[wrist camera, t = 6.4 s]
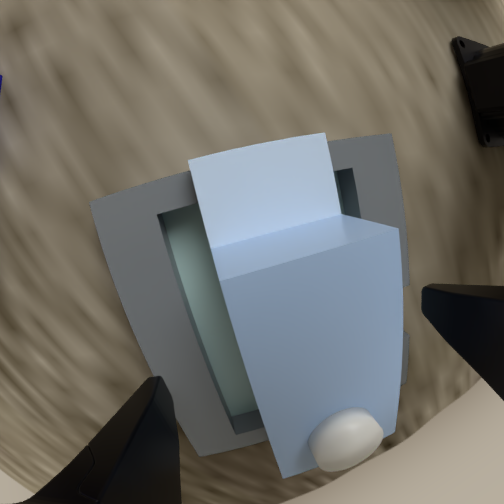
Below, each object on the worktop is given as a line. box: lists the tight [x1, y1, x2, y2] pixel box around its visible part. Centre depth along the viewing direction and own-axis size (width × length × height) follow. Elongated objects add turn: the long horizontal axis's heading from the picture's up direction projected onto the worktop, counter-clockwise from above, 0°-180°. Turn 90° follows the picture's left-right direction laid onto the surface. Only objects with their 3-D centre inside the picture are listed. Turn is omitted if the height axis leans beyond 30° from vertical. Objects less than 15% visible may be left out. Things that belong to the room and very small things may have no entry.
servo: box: [188, 133, 403, 479], centre depth 9 cm, size 4×12×6 cm, turn 13°
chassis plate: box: [89, 134, 410, 457], centre depth 11 cm, size 10×12×1 cm
